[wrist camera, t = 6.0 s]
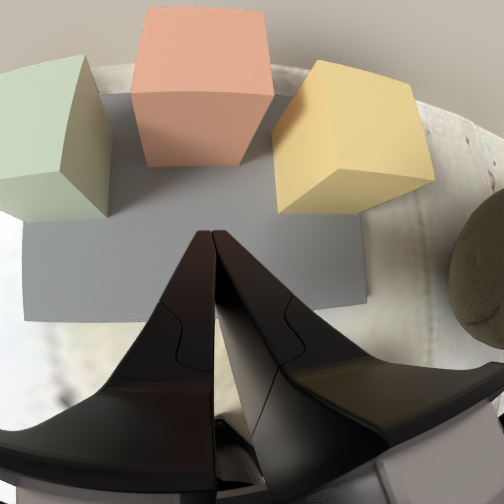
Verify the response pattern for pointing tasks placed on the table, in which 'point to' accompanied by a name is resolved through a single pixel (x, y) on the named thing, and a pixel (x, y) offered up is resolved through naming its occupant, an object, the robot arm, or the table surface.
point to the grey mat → (183, 233)
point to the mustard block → (348, 143)
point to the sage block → (54, 143)
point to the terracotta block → (200, 85)
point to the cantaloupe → (480, 273)
